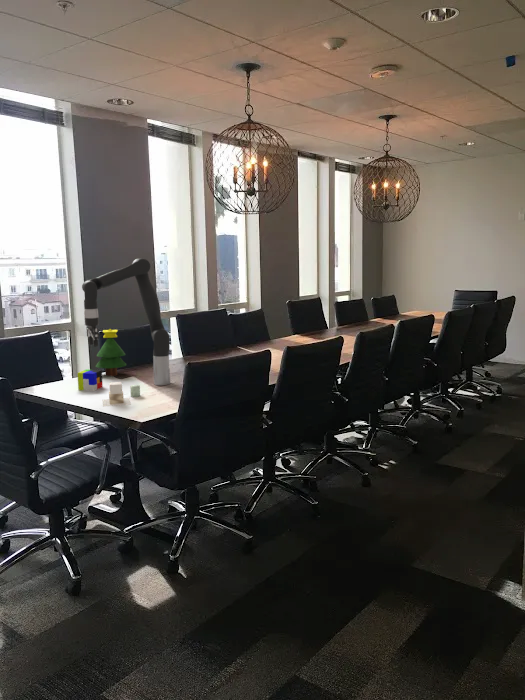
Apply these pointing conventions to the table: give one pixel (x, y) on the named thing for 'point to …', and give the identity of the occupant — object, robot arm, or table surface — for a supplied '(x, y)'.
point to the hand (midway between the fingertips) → (93, 345)
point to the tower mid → (115, 388)
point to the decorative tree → (110, 354)
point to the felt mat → (107, 403)
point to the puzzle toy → (90, 380)
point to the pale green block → (135, 390)
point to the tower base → (116, 398)
